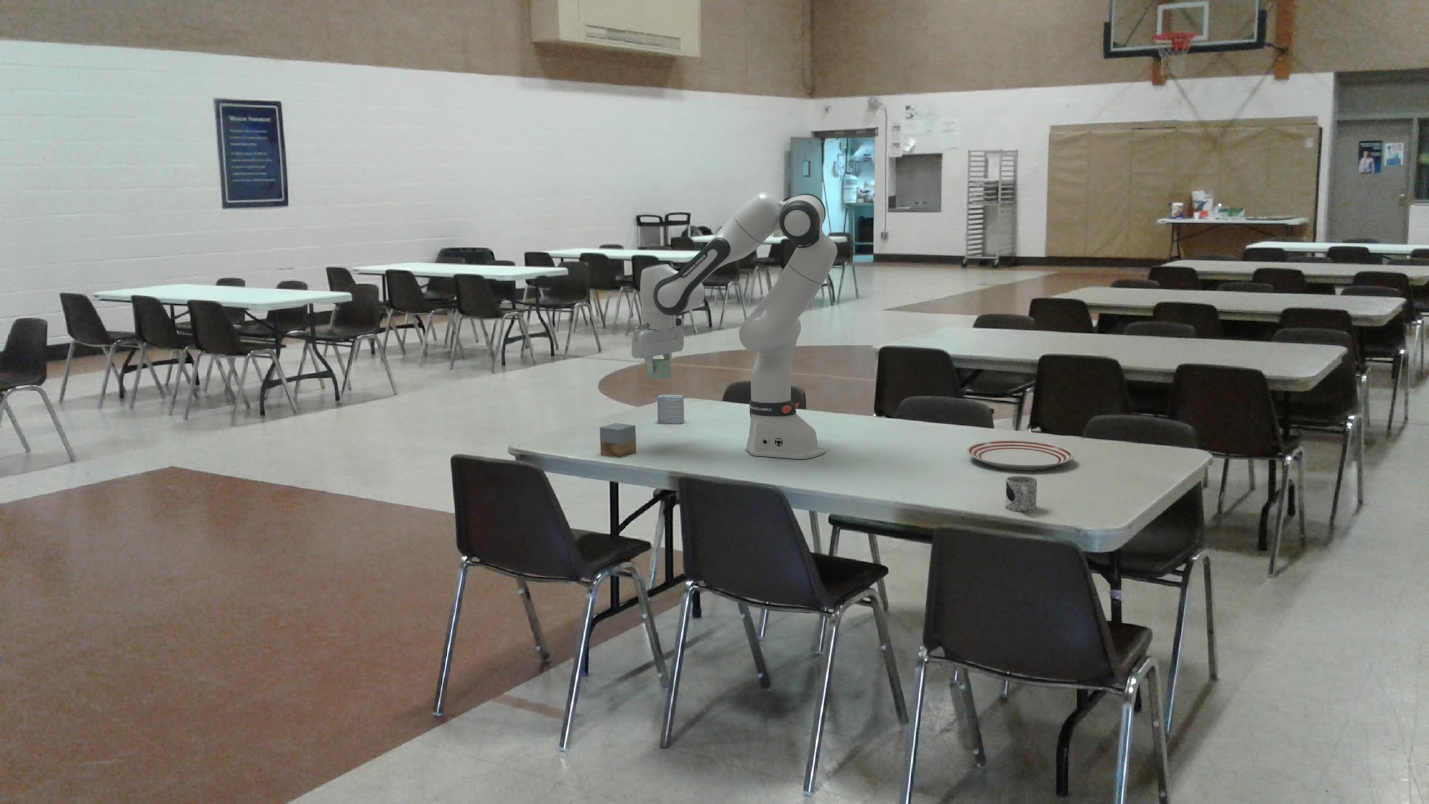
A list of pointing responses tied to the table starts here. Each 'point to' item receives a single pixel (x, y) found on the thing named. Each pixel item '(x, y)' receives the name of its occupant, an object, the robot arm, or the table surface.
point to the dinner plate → (1020, 454)
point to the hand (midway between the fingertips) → (658, 370)
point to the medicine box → (670, 409)
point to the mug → (1021, 493)
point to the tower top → (617, 433)
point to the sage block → (660, 369)
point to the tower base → (618, 448)
